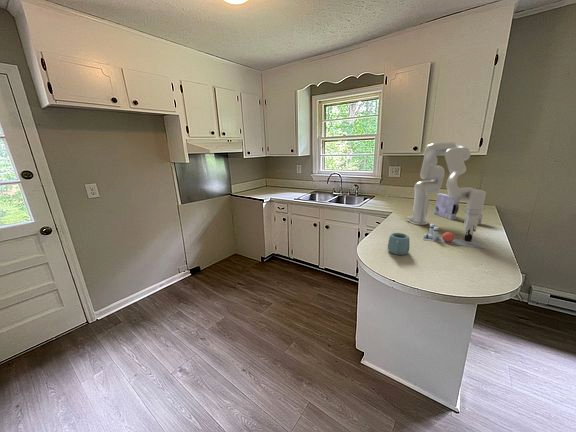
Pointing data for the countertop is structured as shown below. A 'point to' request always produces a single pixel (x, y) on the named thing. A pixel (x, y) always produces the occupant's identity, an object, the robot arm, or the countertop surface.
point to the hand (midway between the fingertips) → (467, 241)
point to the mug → (398, 244)
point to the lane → (458, 242)
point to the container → (478, 219)
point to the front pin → (430, 236)
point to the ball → (448, 237)
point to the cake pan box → (446, 206)
